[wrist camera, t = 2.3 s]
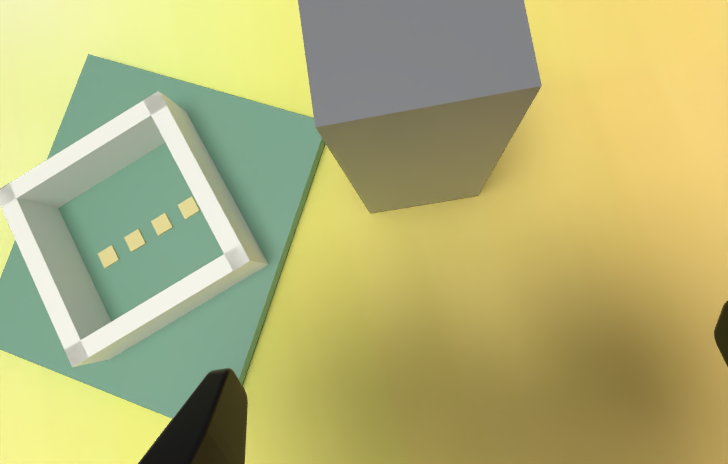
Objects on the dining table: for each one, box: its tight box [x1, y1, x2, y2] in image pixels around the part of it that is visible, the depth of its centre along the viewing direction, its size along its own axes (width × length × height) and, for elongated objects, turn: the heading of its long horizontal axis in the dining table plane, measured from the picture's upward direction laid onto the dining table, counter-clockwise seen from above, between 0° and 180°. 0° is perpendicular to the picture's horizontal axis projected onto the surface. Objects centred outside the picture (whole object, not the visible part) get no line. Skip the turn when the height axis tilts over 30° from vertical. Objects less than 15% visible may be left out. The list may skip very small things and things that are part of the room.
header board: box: [0, 54, 325, 419], centre depth 22 cm, size 13×15×3 cm
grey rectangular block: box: [298, 0, 541, 213], centre depth 17 cm, size 5×5×12 cm
